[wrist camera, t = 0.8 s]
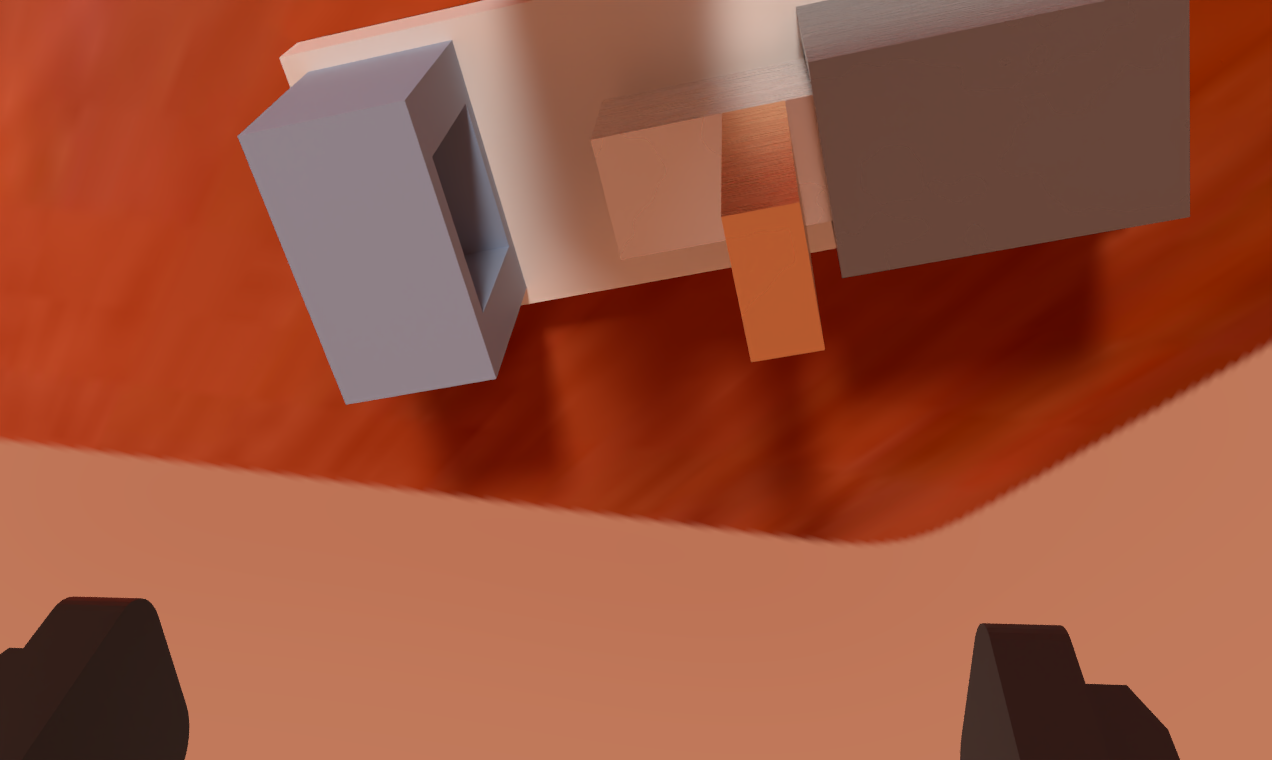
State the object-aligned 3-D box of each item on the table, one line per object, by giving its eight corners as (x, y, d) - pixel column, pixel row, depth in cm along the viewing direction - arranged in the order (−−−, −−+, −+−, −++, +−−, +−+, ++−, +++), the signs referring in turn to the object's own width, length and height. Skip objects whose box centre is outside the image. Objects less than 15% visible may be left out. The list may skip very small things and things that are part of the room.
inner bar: (1107, -6, 27) (1259, 115, 20) (1112, 119, 29) (1255, 278, 21) (602, 100, 29) (557, 247, 22) (630, 211, 31) (597, 388, 23)
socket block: (451, 40, 30) (404, 100, 25) (526, 287, 33) (496, 379, 29) (307, 72, 31) (237, 135, 26) (395, 311, 34) (346, 404, 29)
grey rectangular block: (1116, -63, 28) (1189, -17, 23) (1123, 140, 30) (1189, 217, 26) (795, 7, 29) (807, 62, 25) (826, 197, 31) (842, 278, 27)
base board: (1118, -144, 28) (1137, -136, 27) (1128, 172, 32) (1145, 192, 31) (297, 42, 32) (279, 57, 30) (393, 307, 35) (381, 330, 34)
